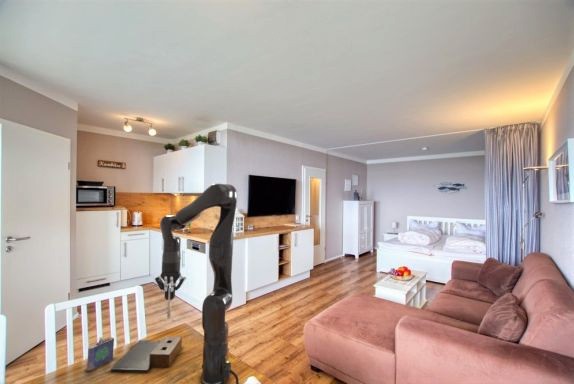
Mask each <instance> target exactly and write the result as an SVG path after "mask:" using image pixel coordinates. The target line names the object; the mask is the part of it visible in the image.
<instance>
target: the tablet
mask: <svg viewBox="0 0 574 384" xmlns="http://www.w3.org/2000/svg"><path fill="white" fill-rule="evenodd" d="M160 341H161V340H144V339H143V340H138V341H137V343H136V344H134V346H132V347H131V348H130V349H129V351H128V352H126V353H125V354H124V356H123V357H122V358H121V359H120V360H119V361H118V362H116V364H115V365H114V366H113V367H112V368H111V369H110V372H111V373H148V372H149V371H150V369H152V364H149V359H150V353H151V352H152V351H153V350H154V349H155V347H156V346H157V345H158V344H159V343H160Z"/></svg>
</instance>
